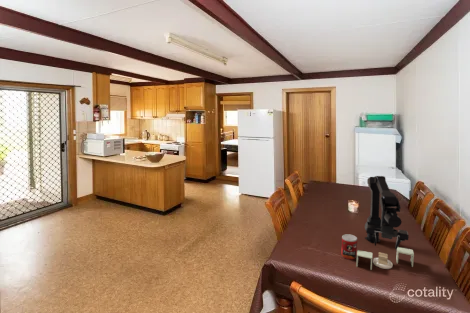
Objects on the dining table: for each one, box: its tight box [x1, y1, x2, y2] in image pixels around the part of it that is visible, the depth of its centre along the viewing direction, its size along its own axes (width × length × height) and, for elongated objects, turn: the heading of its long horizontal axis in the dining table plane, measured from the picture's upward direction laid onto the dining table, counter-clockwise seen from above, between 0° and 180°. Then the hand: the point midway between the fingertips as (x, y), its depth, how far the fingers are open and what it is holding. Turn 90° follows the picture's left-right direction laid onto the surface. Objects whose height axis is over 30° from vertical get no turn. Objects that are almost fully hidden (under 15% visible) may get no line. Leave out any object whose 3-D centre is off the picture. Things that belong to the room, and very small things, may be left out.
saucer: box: [372, 257, 394, 270], centre depth 137 cm, size 9×9×1 cm
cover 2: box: [395, 246, 415, 268], centre depth 138 cm, size 6×7×6 cm
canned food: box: [340, 233, 358, 260], centre depth 145 cm, size 8×8×11 cm
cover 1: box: [355, 249, 373, 271], centre depth 136 cm, size 6×7×6 cm
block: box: [377, 252, 389, 265], centre depth 137 cm, size 4×4×4 cm
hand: (385, 247), depth 139 cm, fingers open, 9 cm apart
